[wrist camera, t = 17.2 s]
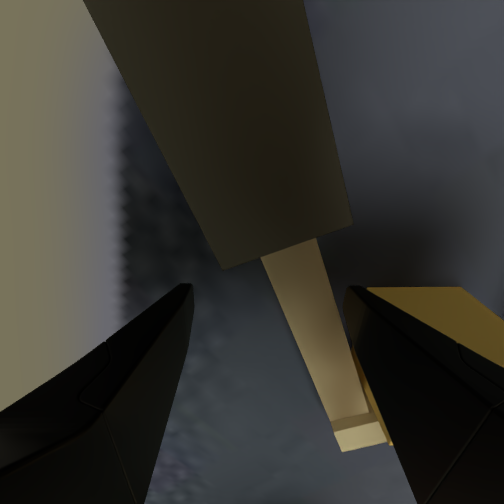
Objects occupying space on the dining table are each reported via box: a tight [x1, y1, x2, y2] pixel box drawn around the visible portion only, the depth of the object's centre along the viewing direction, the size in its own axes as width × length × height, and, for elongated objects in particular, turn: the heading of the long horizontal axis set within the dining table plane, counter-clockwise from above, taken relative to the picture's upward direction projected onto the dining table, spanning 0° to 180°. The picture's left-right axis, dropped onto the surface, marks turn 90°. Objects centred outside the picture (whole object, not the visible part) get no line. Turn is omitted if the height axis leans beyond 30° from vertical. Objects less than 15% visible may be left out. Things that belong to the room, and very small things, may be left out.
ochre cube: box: [351, 287, 504, 446], centre depth 12 cm, size 4×4×4 cm
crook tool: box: [83, 0, 387, 452], centre depth 9 cm, size 8×20×5 cm, turn 21°
